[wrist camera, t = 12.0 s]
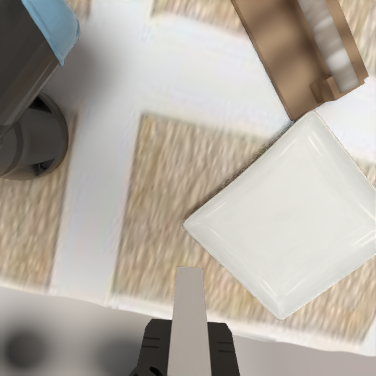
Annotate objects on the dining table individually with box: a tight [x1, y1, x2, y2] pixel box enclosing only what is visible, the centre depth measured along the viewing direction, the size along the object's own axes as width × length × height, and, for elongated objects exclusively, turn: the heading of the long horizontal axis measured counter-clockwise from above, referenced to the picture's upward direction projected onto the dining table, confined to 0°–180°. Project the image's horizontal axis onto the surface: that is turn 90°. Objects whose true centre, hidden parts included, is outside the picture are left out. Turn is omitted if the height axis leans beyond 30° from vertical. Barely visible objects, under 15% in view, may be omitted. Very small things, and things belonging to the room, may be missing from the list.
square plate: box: [183, 110, 376, 320], centre depth 42 cm, size 27×27×4 cm
